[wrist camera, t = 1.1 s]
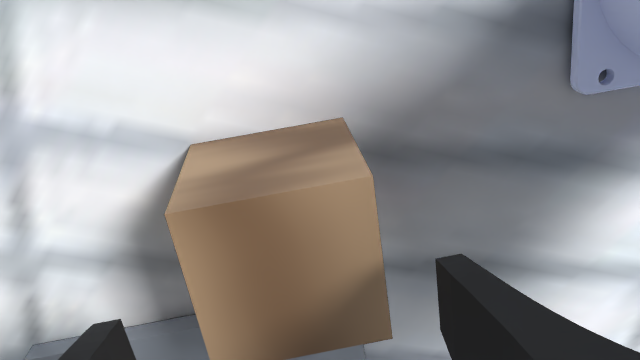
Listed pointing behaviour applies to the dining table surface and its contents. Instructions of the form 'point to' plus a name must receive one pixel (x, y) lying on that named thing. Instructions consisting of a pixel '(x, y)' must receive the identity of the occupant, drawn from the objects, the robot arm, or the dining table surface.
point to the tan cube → (281, 243)
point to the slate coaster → (174, 344)
